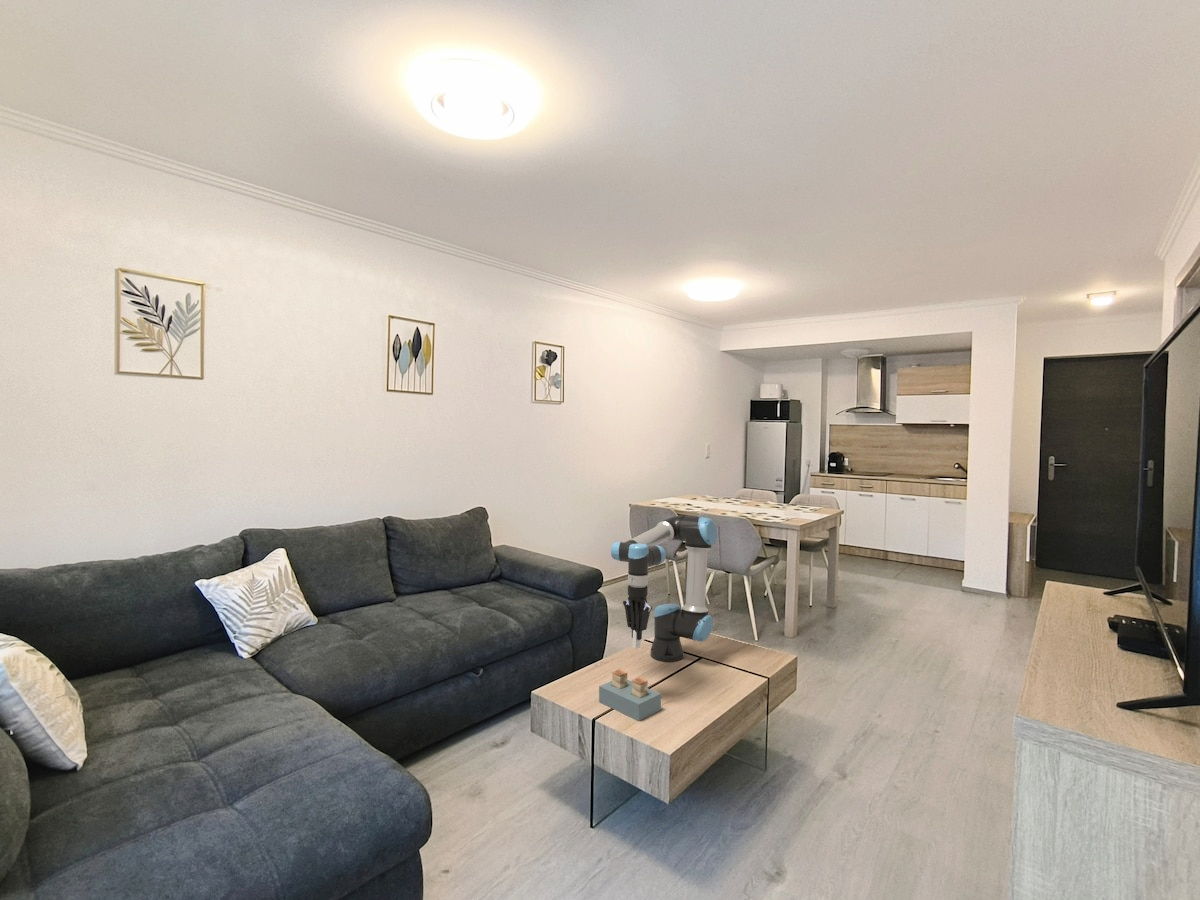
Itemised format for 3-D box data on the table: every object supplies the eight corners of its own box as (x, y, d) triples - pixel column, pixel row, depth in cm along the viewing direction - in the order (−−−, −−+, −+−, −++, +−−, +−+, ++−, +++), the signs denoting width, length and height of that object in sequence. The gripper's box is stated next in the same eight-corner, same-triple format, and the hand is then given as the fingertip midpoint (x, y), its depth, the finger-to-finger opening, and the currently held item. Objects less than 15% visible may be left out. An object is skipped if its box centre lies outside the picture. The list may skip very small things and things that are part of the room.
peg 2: (639, 693, 206) (639, 677, 206) (647, 697, 203) (647, 680, 203) (631, 696, 204) (631, 680, 203) (640, 700, 201) (640, 683, 201)
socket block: (621, 692, 218) (621, 677, 218) (660, 710, 204) (660, 693, 204) (599, 702, 210) (599, 686, 210) (638, 721, 196) (638, 704, 196)
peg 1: (619, 684, 214) (619, 669, 213) (627, 688, 211) (627, 672, 211) (612, 688, 211) (612, 672, 211) (619, 691, 208) (620, 675, 208)
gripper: (618, 583, 214) (617, 645, 214) (644, 589, 205) (643, 654, 205) (631, 580, 220) (630, 641, 219) (657, 586, 210) (656, 649, 210)
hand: (636, 647), depth 212 cm, fingers closed
